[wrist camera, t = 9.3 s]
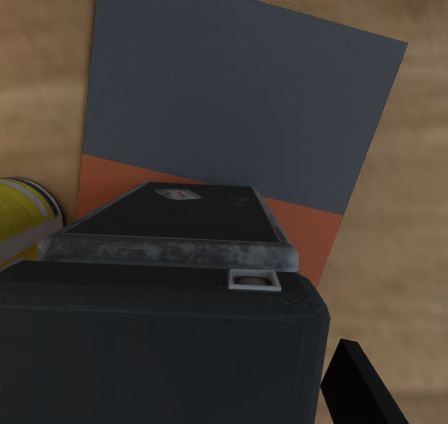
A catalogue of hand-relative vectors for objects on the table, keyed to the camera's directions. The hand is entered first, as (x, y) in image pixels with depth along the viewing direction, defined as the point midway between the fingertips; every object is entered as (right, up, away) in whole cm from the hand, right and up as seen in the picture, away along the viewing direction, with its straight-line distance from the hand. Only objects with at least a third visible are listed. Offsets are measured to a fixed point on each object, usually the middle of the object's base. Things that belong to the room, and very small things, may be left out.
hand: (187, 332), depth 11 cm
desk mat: (+1, +6, +9) cm, 11 cm away
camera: (0, +3, +10) cm, 10 cm away
